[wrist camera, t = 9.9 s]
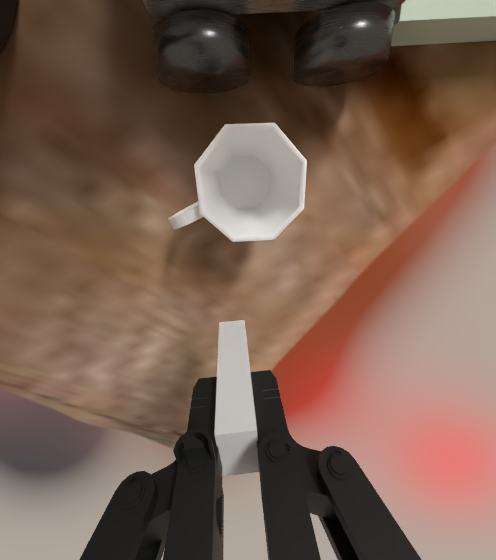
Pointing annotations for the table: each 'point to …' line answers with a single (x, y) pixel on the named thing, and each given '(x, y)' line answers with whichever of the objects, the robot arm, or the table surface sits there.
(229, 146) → the cup
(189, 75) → the trolley
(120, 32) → the table surface
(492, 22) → the tray
